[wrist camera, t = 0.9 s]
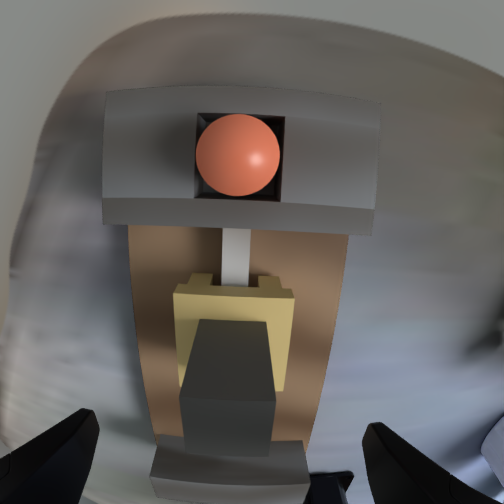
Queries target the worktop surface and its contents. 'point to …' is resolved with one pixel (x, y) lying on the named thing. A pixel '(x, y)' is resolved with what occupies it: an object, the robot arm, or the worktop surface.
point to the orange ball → (237, 155)
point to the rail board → (238, 254)
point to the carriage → (231, 363)
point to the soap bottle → (495, 449)
